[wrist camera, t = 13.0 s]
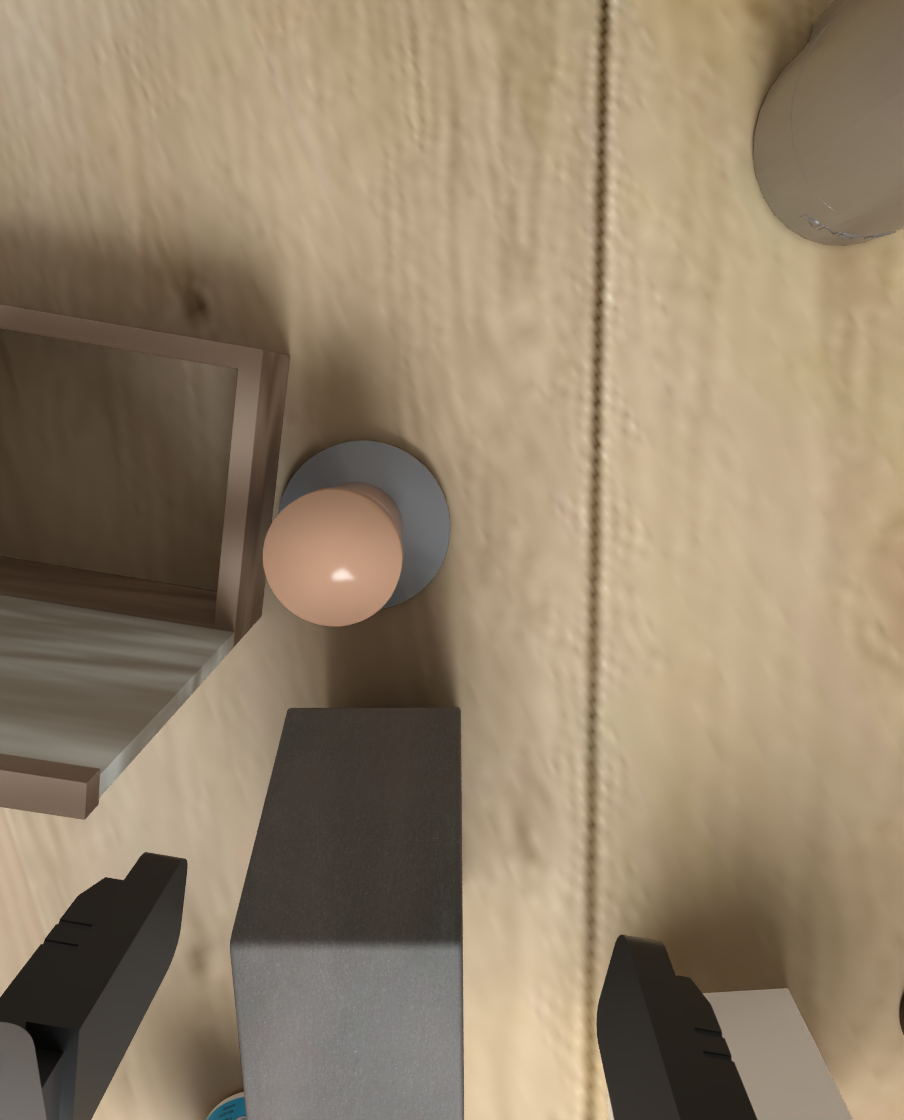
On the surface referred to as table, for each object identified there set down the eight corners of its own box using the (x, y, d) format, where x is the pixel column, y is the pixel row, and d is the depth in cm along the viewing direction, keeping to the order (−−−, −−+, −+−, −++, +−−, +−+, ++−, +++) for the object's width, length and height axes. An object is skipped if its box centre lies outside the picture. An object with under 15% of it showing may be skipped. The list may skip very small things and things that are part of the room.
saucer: (291, 426, 36) (288, 427, 36) (463, 455, 37) (463, 457, 36) (273, 592, 38) (269, 595, 38) (435, 618, 39) (435, 622, 38)
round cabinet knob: (308, 463, 36) (270, 480, 29) (420, 482, 36) (410, 504, 29) (295, 571, 37) (256, 614, 30) (403, 589, 38) (390, 636, 30)
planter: (463, 1051, 40) (465, 1275, 20) (326, 1051, 40) (197, 1274, 20) (461, 741, 45) (460, 683, 26) (341, 742, 46) (252, 685, 26)
